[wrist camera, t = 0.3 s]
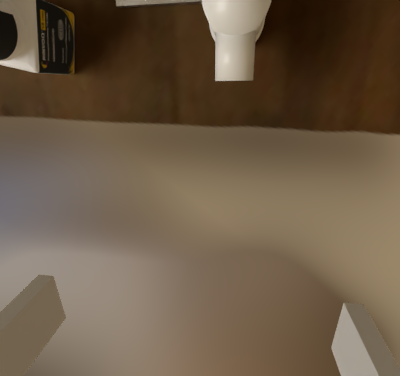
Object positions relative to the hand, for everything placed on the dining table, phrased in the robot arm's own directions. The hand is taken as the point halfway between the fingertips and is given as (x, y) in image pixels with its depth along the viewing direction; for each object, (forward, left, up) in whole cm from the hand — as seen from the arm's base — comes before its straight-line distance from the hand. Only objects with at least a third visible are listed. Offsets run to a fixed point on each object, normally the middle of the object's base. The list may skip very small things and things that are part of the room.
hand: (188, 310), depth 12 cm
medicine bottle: (-15, -22, -26) cm, 38 cm away
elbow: (-15, +1, -26) cm, 30 cm away
